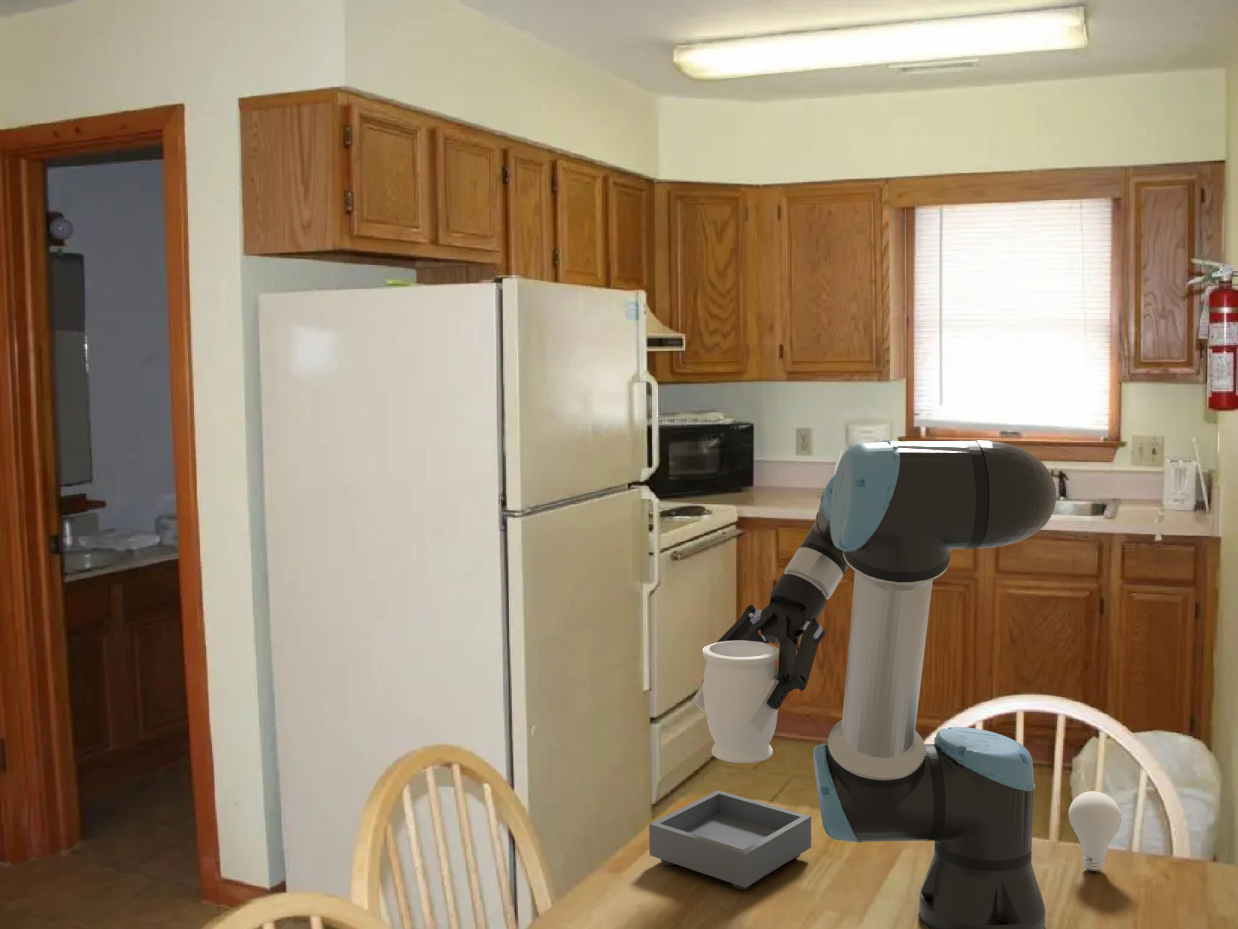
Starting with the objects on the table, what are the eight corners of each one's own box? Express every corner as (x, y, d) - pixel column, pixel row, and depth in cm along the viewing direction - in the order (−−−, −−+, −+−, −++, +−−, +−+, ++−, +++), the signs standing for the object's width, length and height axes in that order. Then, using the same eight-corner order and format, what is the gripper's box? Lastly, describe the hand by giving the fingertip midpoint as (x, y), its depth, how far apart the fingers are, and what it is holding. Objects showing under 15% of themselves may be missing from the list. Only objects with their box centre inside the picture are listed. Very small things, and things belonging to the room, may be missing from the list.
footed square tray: (811, 858, 176) (811, 816, 175) (745, 898, 164) (745, 854, 163) (717, 829, 186) (717, 790, 185) (649, 865, 174) (649, 824, 173)
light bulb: (1061, 874, 169) (1063, 795, 168) (1074, 857, 175) (1076, 780, 174) (1112, 886, 166) (1115, 806, 164) (1125, 868, 171) (1127, 790, 170)
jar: (691, 760, 173) (689, 653, 171) (723, 737, 182) (721, 636, 180) (762, 772, 168) (761, 662, 166) (791, 748, 177) (791, 644, 175)
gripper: (879, 616, 173) (800, 752, 165) (762, 590, 191) (685, 711, 183) (853, 583, 169) (771, 721, 161) (736, 560, 187) (657, 683, 179)
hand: (725, 716), depth 172 cm, fingers closed on jar, 10 cm apart
